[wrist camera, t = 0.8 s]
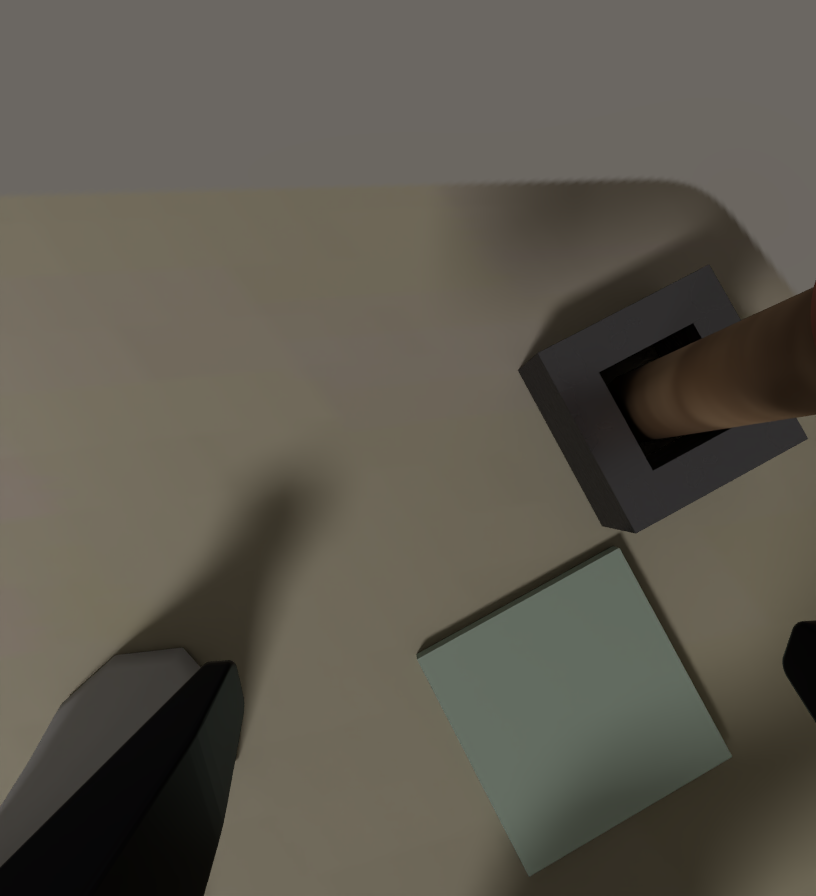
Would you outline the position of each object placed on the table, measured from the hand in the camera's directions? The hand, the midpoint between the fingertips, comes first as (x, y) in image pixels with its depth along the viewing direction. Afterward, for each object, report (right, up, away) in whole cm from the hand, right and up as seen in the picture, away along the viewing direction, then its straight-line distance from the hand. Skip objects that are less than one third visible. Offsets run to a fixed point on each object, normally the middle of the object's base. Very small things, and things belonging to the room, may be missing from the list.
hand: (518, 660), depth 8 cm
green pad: (+5, -8, +13) cm, 16 cm away
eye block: (+9, +5, +14) cm, 18 cm away
